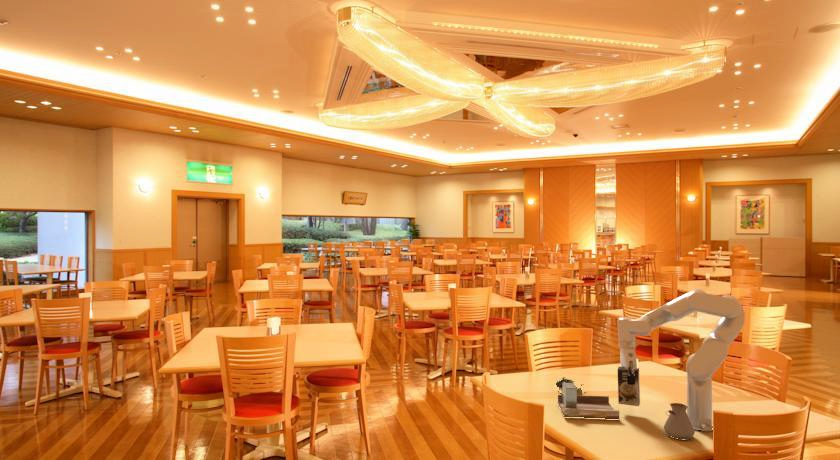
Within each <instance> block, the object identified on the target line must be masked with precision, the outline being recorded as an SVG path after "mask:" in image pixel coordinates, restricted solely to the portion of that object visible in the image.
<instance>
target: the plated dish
mask: <svg viewBox="0 0 840 460" xmlns="http://www.w3.org/2000/svg"><path fill="white" fill-rule="evenodd" d="M560 380H561V381H560ZM560 380H556V382H555V383H556V385H557V387H559V390H561V391H562V393H563V384H562V383H573V382H574V383H575V380H572V379H569V378H566V377H565V376H563V377H562V378H561V379H560ZM558 381H559V382H558ZM582 385H583V383H582V384H581V386H582ZM576 388H577V387H576ZM577 395H583V394H582V390H581V388H577Z"/></svg>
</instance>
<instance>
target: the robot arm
mask: <svg viewBox="0 0 840 460" xmlns="http://www.w3.org/2000/svg"><path fill="white" fill-rule="evenodd" d="M696 312H699V313H703V314H706V315H712V316H717V317H720V319H719V320H718V322H717V324H716V325H715V326H714V328H713V329H712V330H711V331H710V333H708V335H707V336H706V337H705V338H704V339H703V340H702V342H701V343H702V344H701V346H700V347H699V349H698V350H697V351H696V352H695V353H693V354H691V355H689V356H688V357H687V360H686V365H685V370H686V406H687V407H688V408H687V409H686V413H687V415H688V418H689V420H690V422H691V424H692V426H693V429H694V431H698V430H701V431H700V432H713V431H712V428H713V426H712V423H713V375H714V373H715V372H716V371H717V370H718V369H719V367H720V366H721V365H722V364H723V362H724V361H725V360H726V359H727V356H728V355H729V347H730V346H731V345H732V343H733V342H734V341H735V340H736V338H737V336H738V335H739V334H740V333H741V331H742V330H743V327H744V324H745V321H746V315H745V309H744V308H743V305H742V304H741V302H740V300H739V299H738V298H737V297H736V296H735V295H731V294H724V295H715V294H711V293H709V292H708V293H707V292H706V291H705V290H704V289H700V288H699V289H698V288H696V289H693V290H690V291H688V292H686V293H684V294H682V295H681V296H678V297H676V298H674V299H672V300H671V301H668V302H666V303H665V304H662V305H661V306H659V307H657V308H655V309H653V310H651V311H649V312H647V313H646V314H644V315H642V316H640V317H639V318H637V319H634V318H633V317H631V316H629V317H628V316H620V317H618V318H617V339H618V340H617V342H618V343H617V344H618V348H619V358H620V359H619V362H620V367H623V368H625V369H626V370H627V372H628V376H627V382H628V385H635V370H637V368H638V364H637V362H638V361H637V355H636V348H637V344H636V340H637V339H636V335H638V336H643V337H644V336H648V335H650V334H651V333H652V332H653V330H654V329H657V328H659V327H661V326H663V325H665V324H667V323H670V322H676V321H679V320H681V319H683V318H685V317H688V316H690V315H692V314H693V313H696ZM628 368H631V369H628ZM629 371H630V373H629Z"/></svg>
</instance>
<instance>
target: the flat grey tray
mask: <svg viewBox="0 0 840 460" xmlns="http://www.w3.org/2000/svg"><path fill="white" fill-rule="evenodd" d="M558 404H559V406H560V408H561V410H562V412H561V414H562V413H563V414H562V416H563V415H564V416H563V418H564V417H584V418H605V419H619V420H620V410H619V409H615V408H614V407H613V406H612V405H611V404H610V396H609V395H585V394H582V395H577V409H574V408H564V406H563V395H562V394H557V405H558ZM559 406H558V407H559ZM560 408H559V409H560ZM561 410H560V411H561Z"/></svg>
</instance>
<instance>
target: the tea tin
mask: <svg viewBox="0 0 840 460" xmlns="http://www.w3.org/2000/svg"><path fill="white" fill-rule="evenodd" d="M574 383H575V382H574ZM574 383H562V384H563V406H564V408H574V409H577V388H576V386H575V385H574Z"/></svg>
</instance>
